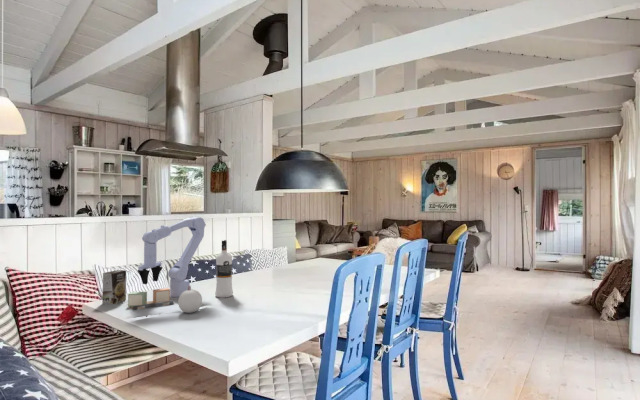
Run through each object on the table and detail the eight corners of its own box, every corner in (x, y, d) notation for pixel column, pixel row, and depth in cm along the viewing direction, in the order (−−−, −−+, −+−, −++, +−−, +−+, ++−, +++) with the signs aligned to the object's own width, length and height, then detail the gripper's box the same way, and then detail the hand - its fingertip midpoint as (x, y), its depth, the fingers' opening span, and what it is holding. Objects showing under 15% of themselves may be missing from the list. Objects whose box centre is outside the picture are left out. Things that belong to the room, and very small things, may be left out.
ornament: (177, 310, 177) (177, 284, 177) (200, 308, 181) (200, 282, 181) (178, 316, 168) (178, 289, 168) (203, 313, 172) (203, 287, 172)
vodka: (231, 293, 212) (231, 239, 213) (234, 297, 203) (234, 240, 204) (214, 294, 209) (214, 239, 209) (216, 298, 200) (216, 241, 201)
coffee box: (113, 306, 185) (113, 273, 185) (101, 306, 186) (102, 272, 186) (126, 302, 194) (126, 270, 194) (115, 301, 195) (115, 269, 195)
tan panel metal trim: (166, 301, 195) (166, 295, 195) (173, 306, 185) (173, 300, 185) (127, 307, 184) (127, 301, 184) (132, 312, 174) (132, 306, 174)
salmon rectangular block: (152, 302, 189) (153, 289, 189) (167, 299, 193) (167, 287, 193) (155, 303, 185) (155, 291, 186) (170, 301, 190) (170, 289, 190)
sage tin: (132, 304, 184) (132, 291, 184) (146, 304, 184) (146, 291, 185) (128, 306, 180) (128, 293, 180) (143, 306, 180) (143, 293, 180)
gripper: (147, 257, 186) (146, 285, 185) (166, 254, 200) (166, 280, 199) (134, 257, 187) (134, 285, 187) (154, 253, 201) (154, 279, 201)
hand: (150, 282), depth 193 cm, fingers open, 7 cm apart
